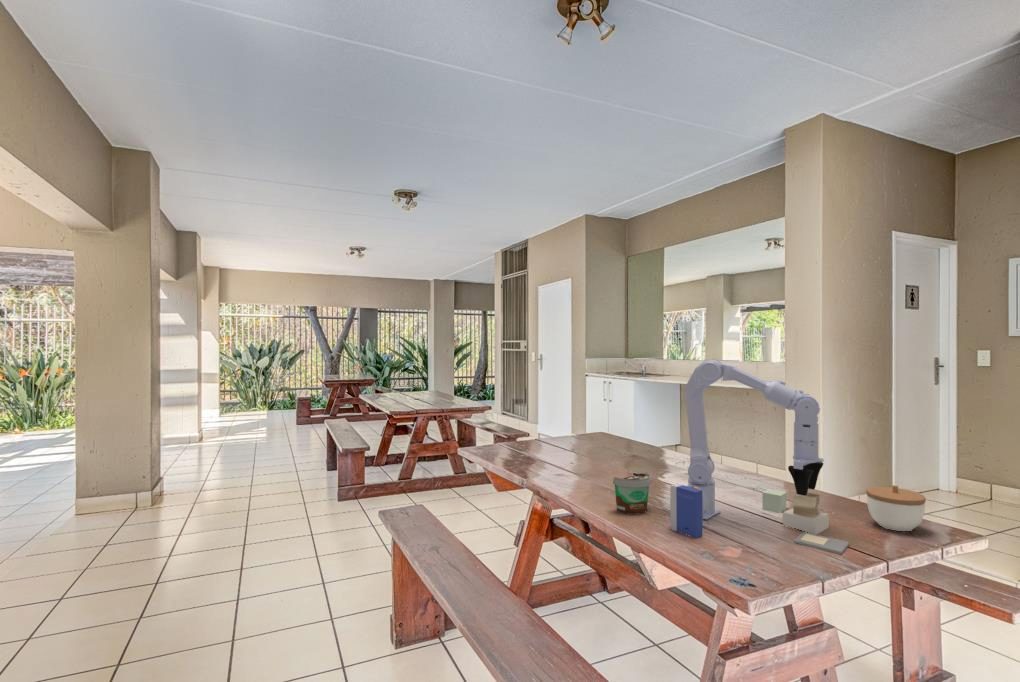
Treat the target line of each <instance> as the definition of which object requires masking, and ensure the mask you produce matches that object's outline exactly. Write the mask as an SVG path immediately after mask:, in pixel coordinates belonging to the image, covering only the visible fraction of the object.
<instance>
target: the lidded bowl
mask: <svg viewBox="0 0 1020 682" xmlns="http://www.w3.org/2000/svg"><path fill="white" fill-rule="evenodd" d="M891 486H892V487H891ZM891 486H870V487H867V488H866V490H865V491H866V504H867V508H868V511H869V514H870V516H871V517H872V519H873V521H875V522H876V523H877V524H878V526H879V525H880V526H882V527H884V528H888V529H894V530H899V531H911V532H913V530H914V529H915V528H917V527H918V526H919V525H920V524H921V523H922V521H923V519H924V517H925V511H926V510H925V509H926V508H925V507H926V497H925V495H923V494H922V493H919V492H917V491H913V490H908V489H905V488H900V487H899V485H894V484H893V485H891ZM880 526H879V527H880ZM882 527H881V528H882ZM884 528H883V529H884Z"/></svg>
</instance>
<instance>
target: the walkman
mask: <svg viewBox="0 0 1020 682" xmlns="http://www.w3.org/2000/svg"><path fill="white" fill-rule="evenodd" d="M669 488H670V501H669V502H670V506H669V509H670V510H669V513H670V517H669V518H670V519H669V520H670V521H669V524H670V525H669V526H670V530H671V529H673V530H676V531H679V532H682V533H684V534H683V535H685V534H687V535H686V536H688V535H690V536H689V537H691V536H692V537H691V538H693V539H697V538H701V537H703V519H702V490H699V488H696V487H693V488H692V487H688V485H683V484H680V483H675V484H671V485H670V487H669ZM673 530H672V531H673ZM676 531H675V532H676ZM679 532H678V533H679ZM682 533H681V534H682Z"/></svg>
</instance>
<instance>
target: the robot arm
mask: <svg viewBox="0 0 1020 682" xmlns="http://www.w3.org/2000/svg"><path fill="white" fill-rule="evenodd" d="M721 378H722V381H723V382H725V381H736V382H738V383H739V384H742V385H744V386H747V387H749V388H751V389H754V390H757V391H758V392H761V393H762V394H763V396H764V399H765V400H767V401H769V402H772V403H773V404H775V405H778V406H779V407H782V408H784V409H786V410H788V411H791V410H792V411H794V422H793V455H792V459H793V465H789V466H788V468H787V469H788V472H789V473H790V475H791V477H792V480H793V484H794V487H795V491H796V492H797V494H799V495H804V496H806V495H807V492H808V491H809V490H815V488H816V486H817V481H818V478H819V474H820V472H821V469H822V468H823V466H824V463H823V462H825V461H824V458H821V457H819V423H818V422H819V416H818V415H819V413H820V411H821V408H820V405H819V402H818V401H817V400H816V398H815V397H814V396H812V395H810V394H809V393H805V392H804V391H803V390H802V389H799V390H797V389H795V388H793V387H791V386H789V385H786V382H785V381H783V380H780V381H778V380H773V381H769V382H768V381H767V380H764V379H762V378H760V377H758V376H756V375H754V374H752V373H750V372H749V371H746V370H743V369H741V368H740V367H738V366H735V365H733V364H731V363H730V364H729V363H726V362H720V361H719V360H717V359H714V358H713V359H707V360H704V361H703V362H702V363H700V364H699V365H698V366H696V367H695V368H694V370H693V372H692V374H691V376H690V377H689V378H688V381H687V382H686V384H685V386H684V395H685V403H686V413H687V414H686V415H687V424H688V425H687V426H688V435H689V444H690V445H689V446H690V453H689V454H690V455H689V459H690V464H689V466H688V469H687V474H688V479H687V480H688V481H687V483H688V484H687V486H688V487H692V488H693V487H696V488H699V490H702V520H706V521H707V520H709V519H711V518H713V517H715V516H716V515H718V514H719V513H721V510H720V509H718V508H716V481H715V479H714V478H713V476H712V475H713V473H714V471H715V463H714V460H713V459H712V458H711V455H710V454H711V451H710V448H709V444H708V433H707V424H706V415H705V404H704V403H705V402H704V396H703V395H704V394H703V393H704V392H705V391H706V390H707V389H708V388H709V387H710V385H712V384H714V383H717V381H719V380H720V379H721ZM796 492H795V493H796Z"/></svg>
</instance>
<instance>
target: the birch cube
mask: <svg viewBox="0 0 1020 682" xmlns="http://www.w3.org/2000/svg"><path fill="white" fill-rule="evenodd" d="M792 497H793V498H792V500H793V503H792V505H793V506H792V508H793V513H794V514H798V515H803V516H807V517H812V518H815V517H816V516H817V515H818V514H820V512H821V511H820V509H821V508H820V507H821V506H820V505H821V494H818V493H813V492H807V495H806V496H804V495H799V494H797V492H795V493H793V496H792Z"/></svg>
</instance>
